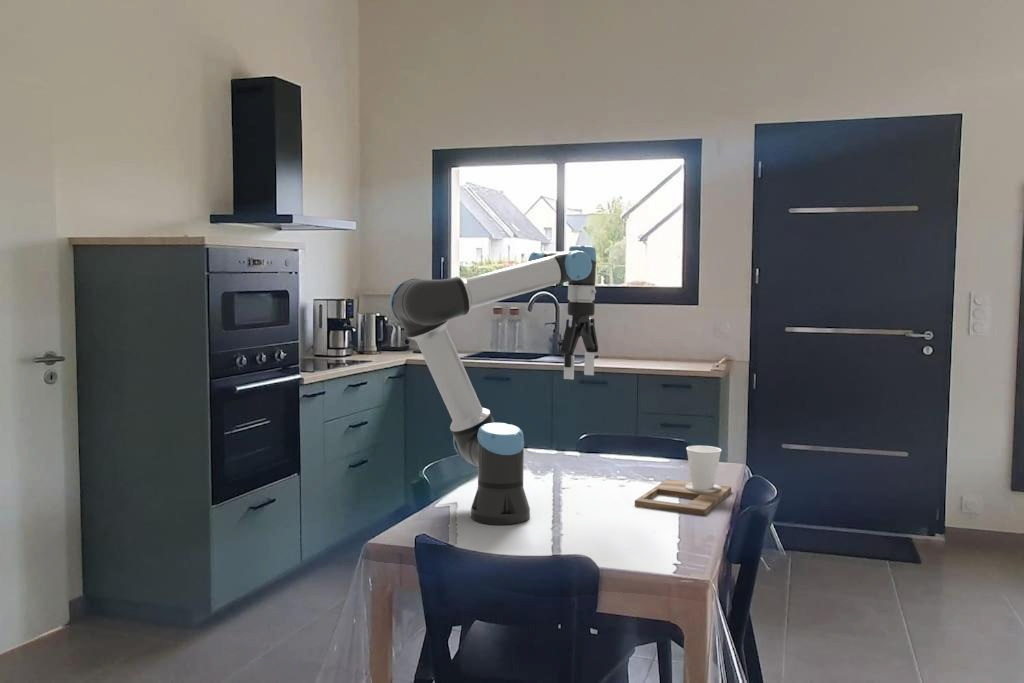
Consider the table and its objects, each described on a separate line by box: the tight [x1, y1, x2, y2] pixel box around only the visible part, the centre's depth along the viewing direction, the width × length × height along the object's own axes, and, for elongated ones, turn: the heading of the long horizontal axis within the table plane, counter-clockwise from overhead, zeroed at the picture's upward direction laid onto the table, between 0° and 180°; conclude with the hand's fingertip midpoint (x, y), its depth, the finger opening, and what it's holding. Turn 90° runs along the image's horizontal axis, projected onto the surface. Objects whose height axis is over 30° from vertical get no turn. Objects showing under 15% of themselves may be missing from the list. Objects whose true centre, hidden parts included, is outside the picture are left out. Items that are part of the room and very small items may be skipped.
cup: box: [685, 444, 722, 489], centre depth 249 cm, size 10×10×11 cm
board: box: [634, 478, 732, 516], centre depth 244 cm, size 28×19×2 cm
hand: (579, 377), depth 246 cm, fingers open, 13 cm apart
